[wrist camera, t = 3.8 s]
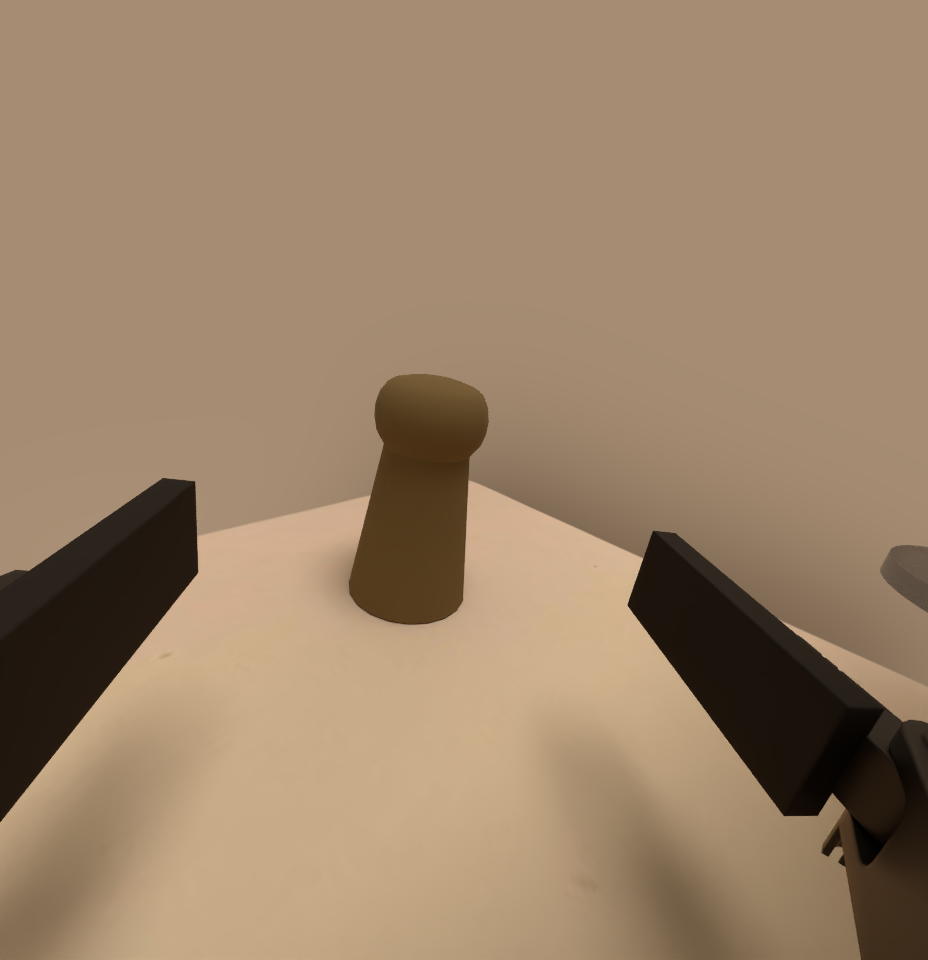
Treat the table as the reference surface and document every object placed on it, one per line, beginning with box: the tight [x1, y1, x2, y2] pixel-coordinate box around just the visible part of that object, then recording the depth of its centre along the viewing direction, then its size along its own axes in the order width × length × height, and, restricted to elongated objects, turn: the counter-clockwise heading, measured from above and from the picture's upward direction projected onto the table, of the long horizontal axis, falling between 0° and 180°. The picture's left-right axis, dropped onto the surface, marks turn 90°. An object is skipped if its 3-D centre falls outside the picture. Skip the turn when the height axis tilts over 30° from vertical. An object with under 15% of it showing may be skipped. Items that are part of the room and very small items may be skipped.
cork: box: [349, 374, 488, 624], centre depth 22 cm, size 6×6×11 cm
